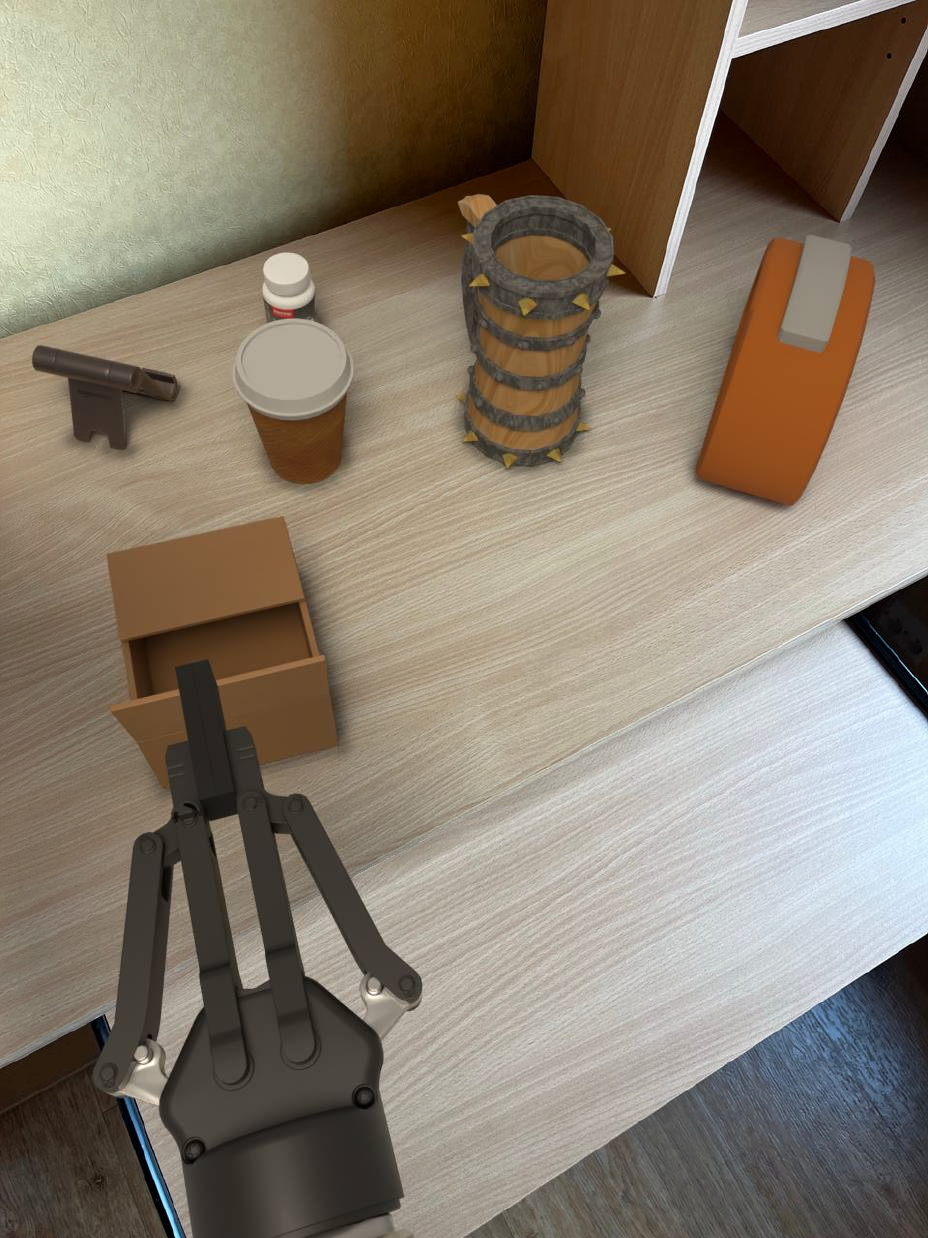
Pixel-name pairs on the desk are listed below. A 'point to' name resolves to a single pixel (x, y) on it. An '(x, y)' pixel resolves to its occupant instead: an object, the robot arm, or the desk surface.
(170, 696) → the flap
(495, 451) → the mug
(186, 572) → the carton
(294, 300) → the pill bottle
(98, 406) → the tablet stand
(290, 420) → the disposable coffee cup
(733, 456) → the alarm clock
